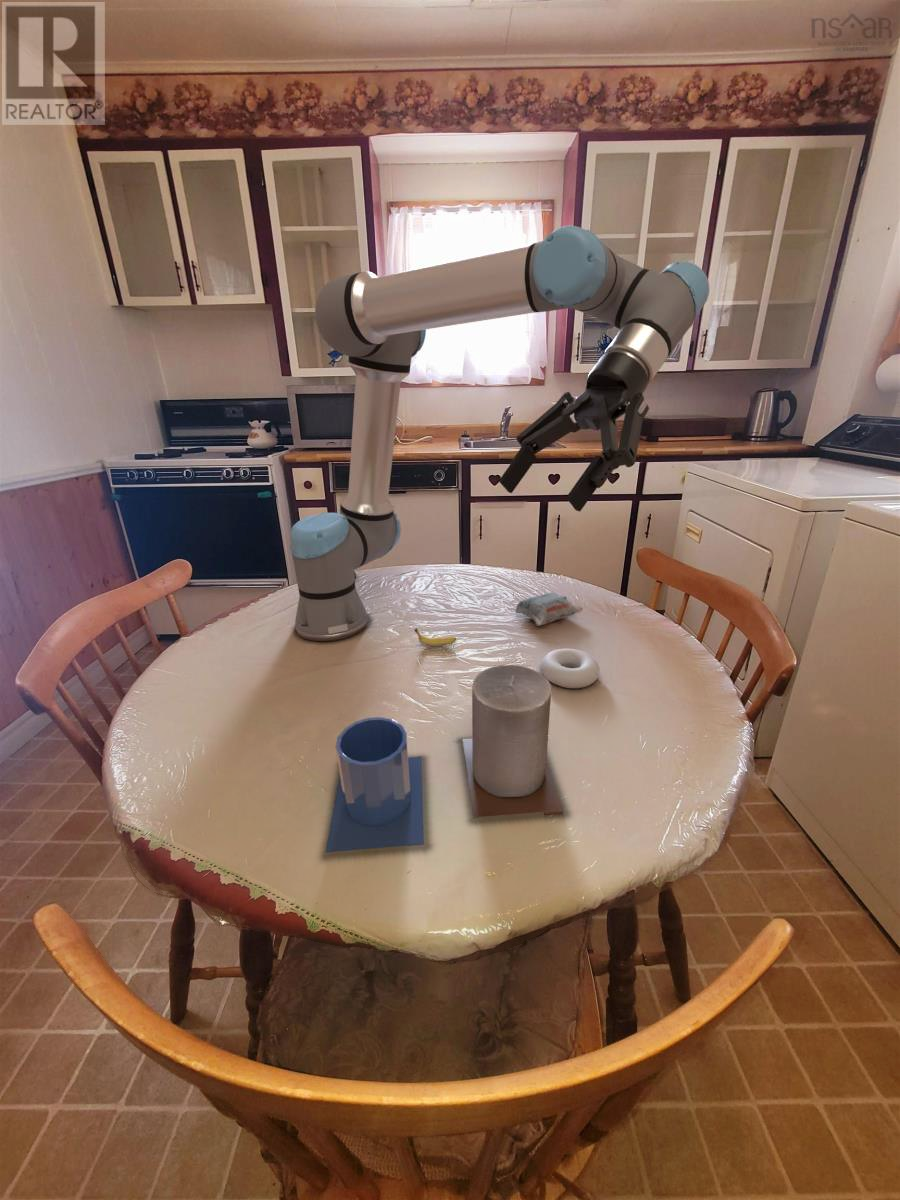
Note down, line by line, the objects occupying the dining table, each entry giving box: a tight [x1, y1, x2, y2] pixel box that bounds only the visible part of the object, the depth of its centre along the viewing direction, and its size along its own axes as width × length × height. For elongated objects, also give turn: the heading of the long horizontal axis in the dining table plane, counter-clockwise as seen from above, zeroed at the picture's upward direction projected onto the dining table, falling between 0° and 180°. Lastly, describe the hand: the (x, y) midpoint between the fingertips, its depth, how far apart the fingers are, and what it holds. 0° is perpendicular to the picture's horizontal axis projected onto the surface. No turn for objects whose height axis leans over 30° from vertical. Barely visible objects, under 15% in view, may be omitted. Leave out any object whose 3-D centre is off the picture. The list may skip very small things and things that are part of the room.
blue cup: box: [335, 716, 411, 826], centre depth 59 cm, size 8×8×10 cm
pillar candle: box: [471, 664, 552, 797], centre depth 61 cm, size 10×10×15 cm
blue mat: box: [325, 756, 425, 853], centre depth 61 cm, size 14×11×1 cm
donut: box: [540, 648, 600, 689], centre depth 85 cm, size 10×3×10 cm
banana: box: [414, 628, 457, 647], centre depth 95 cm, size 8×2×4 cm, turn 88°
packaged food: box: [514, 592, 583, 627], centre depth 105 cm, size 9×12×5 cm
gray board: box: [461, 737, 565, 819], centre depth 65 cm, size 14×11×1 cm
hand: (536, 495), depth 65 cm, fingers open, 13 cm apart
